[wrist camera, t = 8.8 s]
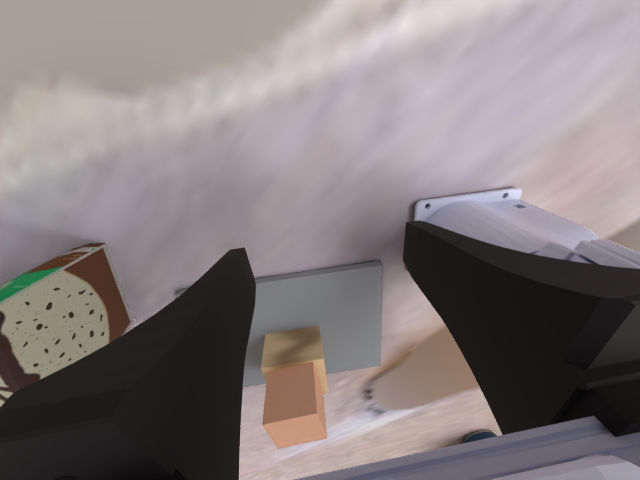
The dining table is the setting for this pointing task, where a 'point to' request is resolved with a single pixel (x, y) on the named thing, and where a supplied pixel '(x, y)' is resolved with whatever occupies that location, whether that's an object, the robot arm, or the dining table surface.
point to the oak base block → (295, 351)
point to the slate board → (320, 315)
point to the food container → (59, 315)
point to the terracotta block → (294, 406)
